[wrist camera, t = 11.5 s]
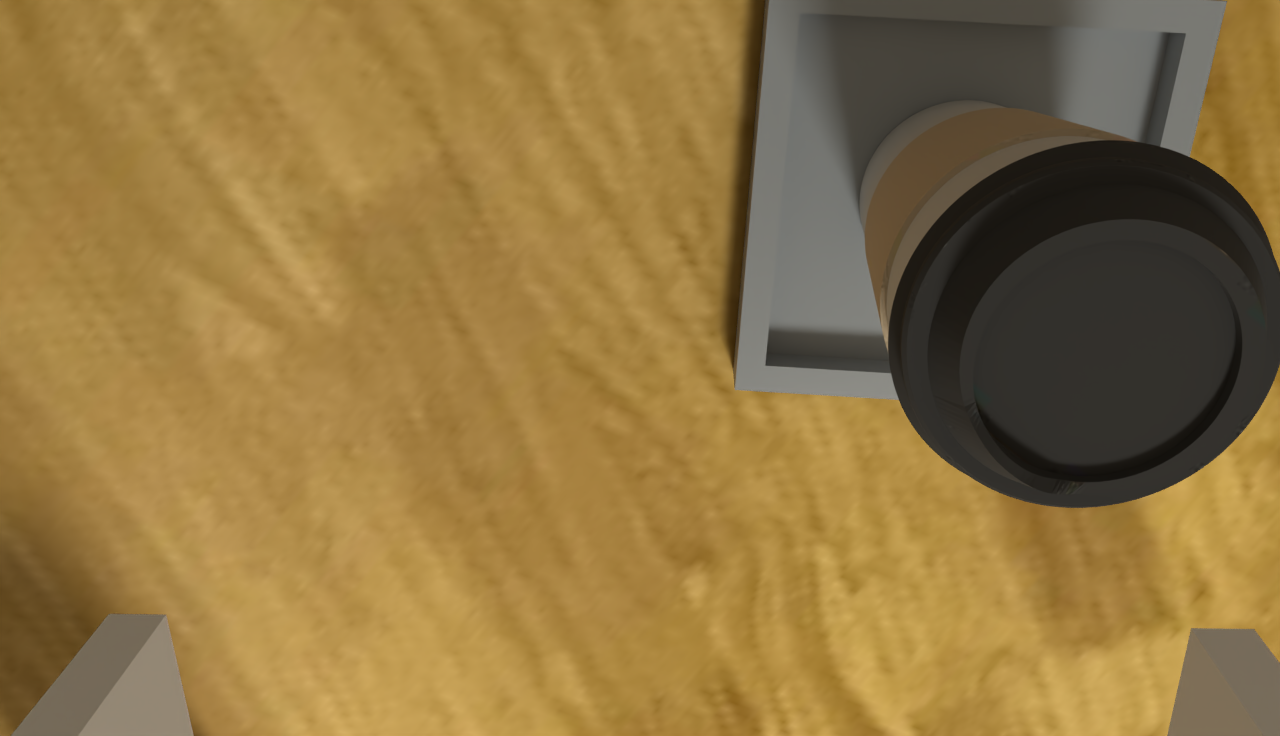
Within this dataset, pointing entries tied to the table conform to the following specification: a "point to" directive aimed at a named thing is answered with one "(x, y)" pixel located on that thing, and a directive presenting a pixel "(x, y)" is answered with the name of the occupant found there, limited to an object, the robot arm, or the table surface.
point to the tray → (888, 95)
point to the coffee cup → (1066, 302)
